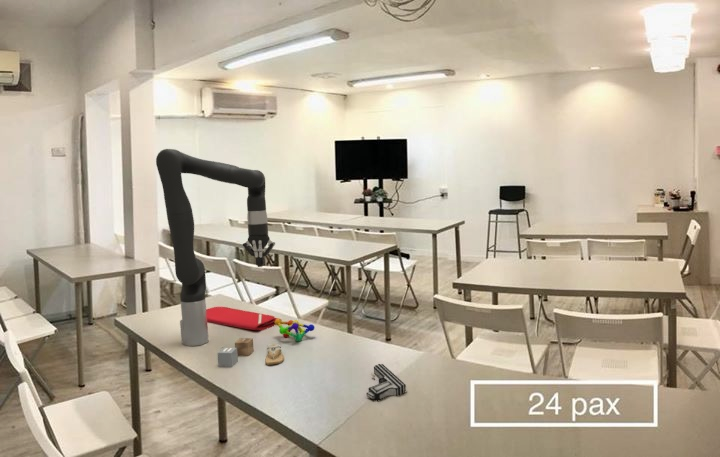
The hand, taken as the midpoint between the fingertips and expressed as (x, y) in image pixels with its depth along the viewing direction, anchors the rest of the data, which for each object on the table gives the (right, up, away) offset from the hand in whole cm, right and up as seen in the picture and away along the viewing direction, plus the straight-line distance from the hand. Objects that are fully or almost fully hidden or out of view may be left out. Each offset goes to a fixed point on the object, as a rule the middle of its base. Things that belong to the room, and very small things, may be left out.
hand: (260, 266), depth 200 cm
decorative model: (+13, -29, +3) cm, 32 cm away
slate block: (-7, -32, -21) cm, 39 cm away
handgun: (+44, -34, -43) cm, 70 cm away
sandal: (+8, -32, -16) cm, 37 cm away
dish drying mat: (-16, -27, +29) cm, 42 cm away
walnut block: (-4, -31, -11) cm, 33 cm away
